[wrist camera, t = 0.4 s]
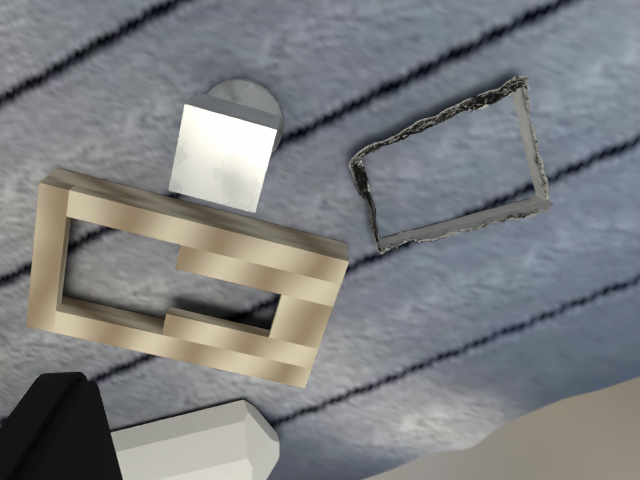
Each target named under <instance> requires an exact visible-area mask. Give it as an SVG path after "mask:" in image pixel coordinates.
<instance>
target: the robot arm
mask: <svg viewBox="0 0 640 480" xmlns="http://www.w3.org/2000/svg"><path fill="white" fill-rule="evenodd" d="M0 480H123V478H122V474H121V470H120V466H119V463H118V459H117V455H116V451H115V447H114V444H113V440H112V436H111V432H110V429H109V425H108V421H107V417H106V414H105V410H104V406H103V402H102V399H101V395H100V391H99V388H98V385H97V383H96V382H95V381H87V378H86V376H85V375H84V374H83V373H81V372H63V373H45V374H42V375H40V376H39V377H38V378H37V379H36V380H35V381H34V383H33V384H32V386H31V387H30V388H29V390H28V391H27V392H26V394H25V395H24V396H23V398H22V399H21V401H20V402H19V403H18V405H17V406H16V407H15V409H14V410H13V412H12V413H11V414H10V416H9V417H8V418H7V420H6V421H5V422H4V424H3V425H2V427H1V428H0Z"/></svg>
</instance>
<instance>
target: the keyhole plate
mask: <svg viewBox="0 0 640 480" xmlns="http://www.w3.org/2000/svg"><path fill="white" fill-rule="evenodd" d="M71 218H75V219H79V220H83V221H87V222H91V223H95V224H99V225H103V226H107V227H111V228H115V229H119V230H123V231H127V232H131V233H135V234H139V235H143V236H147V237H151V238H155V239H159V240H163V241H167V242H171V243H175V244H179V245H180V250H179V255H178V259H177V264H176V269H179V270H183V271H187V272H191V273H195V274H200V275H204V276H208V277H212V278H216V279H220V280H224V281H228V282H232V283H236V284H241V285H245V286H249V287H253V288H257V289H261V290H265V291H269V292H273V293H278V294H281V295H280V298H279V301H278V305H277V308H276V311H275V314H274V318H273V321H272V324H271V328H270V330H266V329H262V328H258V327H254V326H249V325H245V324H241V323H237V322H232V321H228V320H224V319H219V318H215V317H211V316H207V315H202V314H198V313H194V312H190V311H185V310H181V309H177V308H172V307H169V308H168V311H167V313H166V317H165V319H160V318H156V317H152V316H147V315H143V314H139V313H134V312H130V311H126V310H121V309H117V308H113V307H108V306H104V305H100V304H95V303H91V302H87V301H82V300H78V299H74V298H69V297H65V296H62V293H63V284H64V276H65V267H66V258H67V250H68V241H69V232H70V223H71ZM348 263H349V258H348V250H347V243H344V242H340V241H337V240H333V239H329V238H325V237H321V236H317V235H314V234H310V233H306V232H302V231H298V230H294V229H290V228H287V227H283V226H279V225H275V224H271V223H267V222H264V221H260V220H256V219H252V218H248V217H244V216H240V215H237V214H233V213H229V212H225V211H221V210H217V209H214V208H210V207H206V206H202V205H198V204H194V203H191V202H187V201H183V200H179V199H175V198H171V197H167V196H164V195H160V194H156V193H152V192H148V191H144V190H141V189H137V188H133V187H129V186H125V185H121V184H117V183H114V182H110V181H106V180H102V179H98V178H94V177H91V176H87V175H83V174H79V173H75V172H71V171H67V170H64V169H60V168H58V169H57V170H55V171H54V172H53V173H51V174H50V175H49V176H47V177H46V178H45V179H43V180H42V181H40V182H39V189H38V201H37V213H36V224H35V236H34V247H33V259H32V270H31V282H30V293H29V305H28V316H27V327H31V328H36V329H40V330H45V331H50V332H54V333H59V334H63V335H68V336H72V337H77V338H81V339H86V340H90V341H95V342H99V343H104V344H108V345H113V346H117V347H122V348H126V349H131V350H135V351H140V352H144V353H149V354H153V355H158V356H162V357H167V358H171V359H176V360H180V361H185V362H189V363H194V364H198V365H203V366H207V367H212V368H216V369H221V370H225V371H230V372H234V373H239V374H243V375H248V376H252V377H257V378H261V379H266V380H270V381H275V382H279V383H284V384H288V385H293V386H297V387H302V388H305V386H306V383H307V380H308V377H309V374H310V371H311V369H312V366H313V363H314V360H315V357H316V354H317V351H318V349H319V346H320V343H321V340H322V337H323V334H324V332H325V329H326V326H327V323H328V320H329V317H330V314H331V312H332V309H333V306H334V303H335V300H336V297H337V295H338V292H339V289H340V286H341V283H342V280H343V277H344V275H345V272H346V269H347V266H348Z"/></svg>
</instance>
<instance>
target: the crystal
mask: <svg viewBox="0 0 640 480" xmlns="http://www.w3.org/2000/svg"><path fill="white" fill-rule="evenodd" d="M204 430H205V431H204ZM111 436H112V440H113V444H114V447H115V451H116V455H117V459H118V463H119V466H120V470H121V474H122V478H123V480H266V479H267V478H268V476H269V474H270V473H271V471H272V469H273V468H274V466H275V464H276V463H277V461H278V459H279V440H278V436H277V433H276V432H275V430H274V429H273V428H272V427H271V426H270V424H269V423H268V422H267V421H266V420H265V418H264V417H263V416H262V415H261V414H260V412H259V411H258V410H257V409H256V408H255V407H254V406H253V405H251V404H250V403H248V402H246V401H245V400H240V401H236V402H232V403H228V404H224V405H220V406H216V407H212V408H208V409H204V410H200V411H196V412H192V413H188V414H184V415H180V416H176V417H172V418H167V419H163V420H159V421H155V422H151V423H147V424H143V425H139V426H135V427H131V428H127V429H123V430H119V431H115V432H111ZM167 439H168V440H167ZM163 440H164V441H163ZM134 447H135V448H134ZM130 448H131V449H130ZM126 449H127V450H126ZM122 450H123V451H122Z"/></svg>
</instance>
